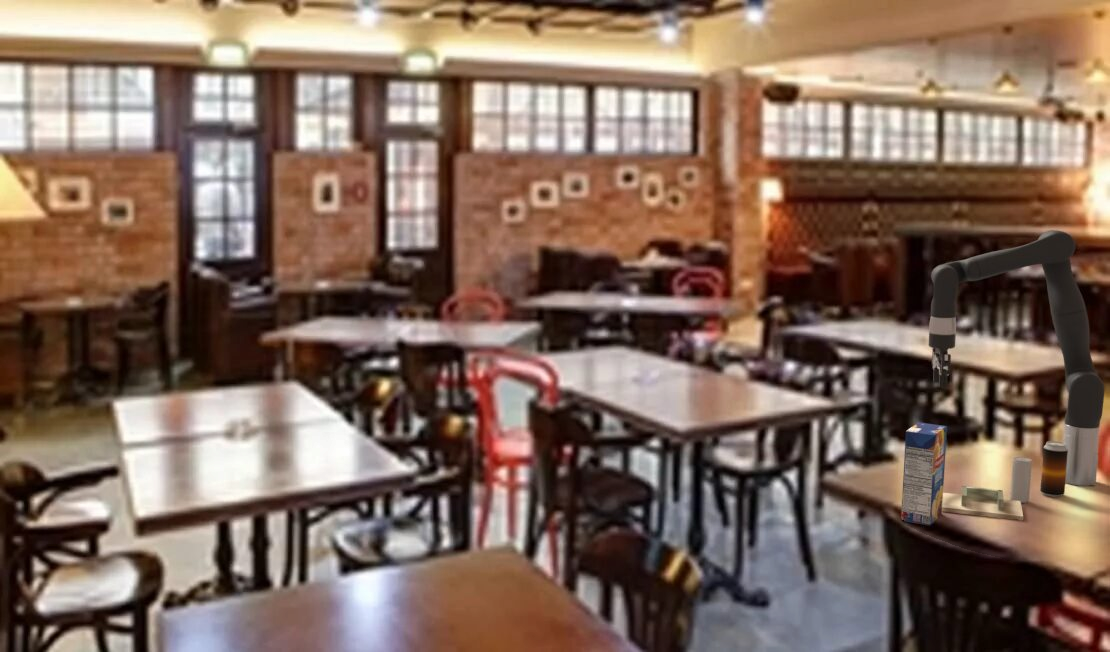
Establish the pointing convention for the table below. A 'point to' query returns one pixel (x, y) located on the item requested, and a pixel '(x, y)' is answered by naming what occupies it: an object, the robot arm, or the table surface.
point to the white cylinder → (1021, 479)
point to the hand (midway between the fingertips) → (940, 384)
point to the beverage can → (1054, 469)
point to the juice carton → (923, 473)
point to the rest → (982, 503)
